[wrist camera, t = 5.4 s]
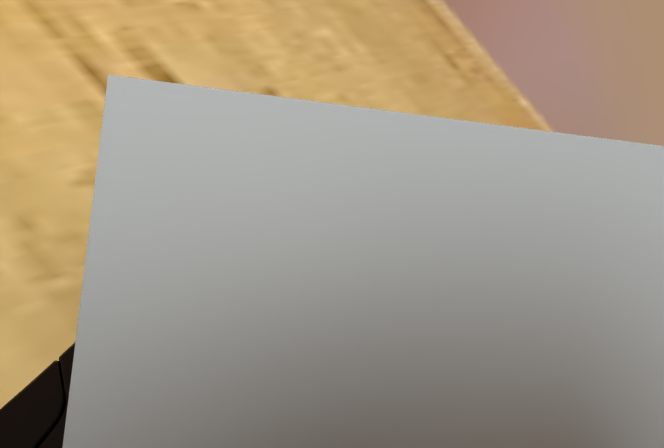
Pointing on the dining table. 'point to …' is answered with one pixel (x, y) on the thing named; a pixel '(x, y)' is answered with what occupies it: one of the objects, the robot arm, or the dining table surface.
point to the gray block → (363, 280)
